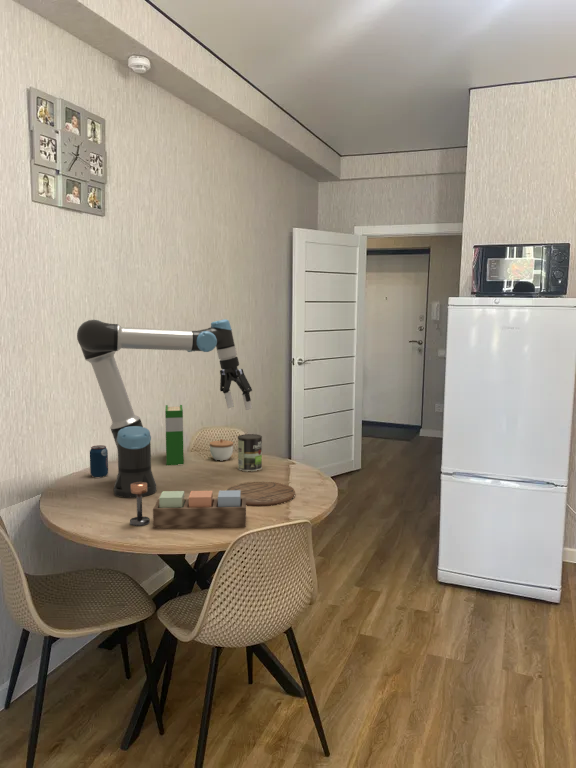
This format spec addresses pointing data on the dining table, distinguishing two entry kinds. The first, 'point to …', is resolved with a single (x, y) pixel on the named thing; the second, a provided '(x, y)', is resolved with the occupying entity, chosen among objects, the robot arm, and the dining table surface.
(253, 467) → the coffee can
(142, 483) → the indicator lamp
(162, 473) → the dining table surface
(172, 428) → the hardback book
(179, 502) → the sage button
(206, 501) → the terracotta button
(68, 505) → the dining table surface
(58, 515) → the dining table surface
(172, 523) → the button console
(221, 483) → the dining table surface
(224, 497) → the slate button
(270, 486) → the trivet
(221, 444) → the lidded jar
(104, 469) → the soda can
